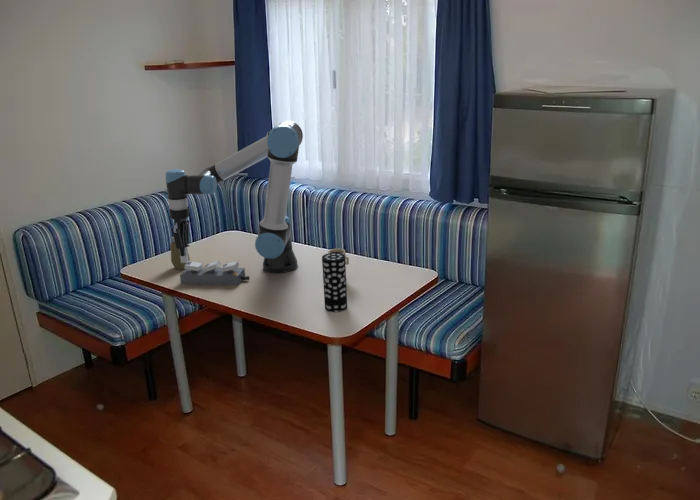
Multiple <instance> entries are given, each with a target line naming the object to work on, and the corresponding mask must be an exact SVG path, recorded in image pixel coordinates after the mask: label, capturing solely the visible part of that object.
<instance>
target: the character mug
mask: <svg viewBox="0 0 700 500" xmlns="http://www.w3.org/2000/svg"><path fill="white" fill-rule="evenodd" d="M328 253H341V254H344V255H345V265H347V266H348V265H350V258H349V257H348V256H346V250H345V249H344V248H332V249H329V250H328V251H327V254H328Z"/></svg>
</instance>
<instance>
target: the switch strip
mask: <svg viewBox="0 0 700 500" xmlns="http://www.w3.org/2000/svg"><path fill="white" fill-rule="evenodd" d="M204 267H205V266H204ZM204 267H203V266H202V268H201V269H200V270H199V271H194V270H188V269H184V270H183V271H182V273H180V274H179V278H180V279H179V280H180V284H181V285H216V284H220V285H222V286H223V285H224V286H225V285H227V286H232V285H233V286H234V285H235V286H239V285H240V284H241V283H242V282H243V281H249V280H250V276H249V275H246V272H245V267H237V268H236V269H234V270H229V271H224V272H222V269H221V267H220V266H219V267H218V268H216V269H213V270H210V271H207V272H204V270H203V268H204ZM241 281H242V282H241ZM220 285H219V286H220Z"/></svg>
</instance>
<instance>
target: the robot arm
mask: <svg viewBox="0 0 700 500" xmlns="http://www.w3.org/2000/svg"><path fill="white" fill-rule="evenodd" d="M303 138H304V134H303V129H302V128H301V127H300V125H299V124H297V123H296V122H295V121H292V120H285V121H281V122H280V123H278V124H277V125H274V127H273V128H272V129H271V130H270V131H267V132H266V136H264V137H262V138H260V139H259V140H257V141H254V142H253V143H252V144H249V145H247V146H245V147H243V148H242V149H240V150H239V151H237V152H235V153H234V154H231V155H229V156H228V157H226V158H224V159H222V160H220V161H219V162H217V163H215V164H213V165H210V166H209V167H207V168H205V169H203V170H202V171H201V172H200V173H199V174H198V175H197V174H195V175H194V174H193V175H191V174H190V175H189V174H188V175H187V174H186V172H185V170H184V169H179V168H178V169H176V168H175V169H169V170H167V171H166V173H165V185H166V192H167V203H168V207H169V218H171V220H173V226H174V228H173V227H172V228H171V232H172V235H173V237H174V239H175V243H176V248H177V249H179V250H180V259H181V263H188V262H189V261H188V254H189V251H188V252H187V250H188V247H190V220H189V219H188V218H189V217H190V209H189V200H188V195H205V196H207V195H214V194H215V193H216V192H217V189H218V188H217V187H218V185H219V184H220V183H222V182H224V181H225V180H227V179H229V178H231V177H232V176H235V175H236V174H238V173H240V172H242V171H244V170H245V169H249V167H252V166H253V165H255V164H257V163H259V162H261V161H263V160H265V159H266V158H267V159H268V160H269V161H270V166H269V172H268V173H269V174H268V183H267V188H266V189H267V191H266V197H265V206H264V214H263V218H262V219H261V220H260V221H259V224H258V233H257V237H256V238H255V242H254V243H255V244H254V247H255V250H256V252H257V253H258V254H259V256H261V257H262V258H263V262H262V268H263V270H264V271H265V272H266V273H273V274H281V273H287V272H291V271H293V270H295V269H296V268H298V265H299V264H298V259H297V258H296V255H295V252H294V249H293V242H292V240H293V239H292V229H291V225H292V222H291V219H290V217H288V216H287V208H288V201H289V196H290V195H289V194H290V193H289V192H290V187H291V178H292V173H293V172H292V171H293V166H294V164H296V162H298V156H299V150H300V145H301V144H302V142H303ZM187 219H188V220H187Z"/></svg>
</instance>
